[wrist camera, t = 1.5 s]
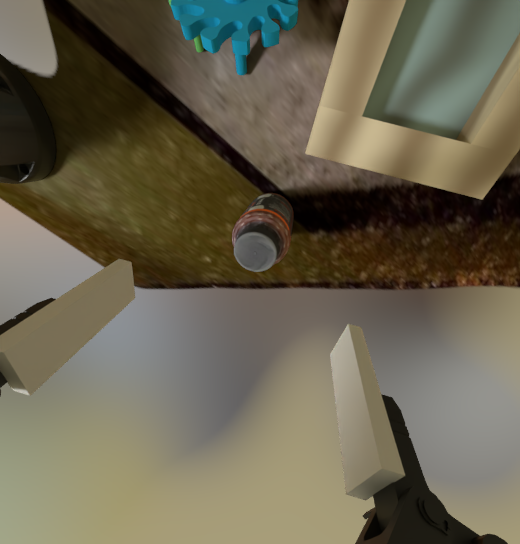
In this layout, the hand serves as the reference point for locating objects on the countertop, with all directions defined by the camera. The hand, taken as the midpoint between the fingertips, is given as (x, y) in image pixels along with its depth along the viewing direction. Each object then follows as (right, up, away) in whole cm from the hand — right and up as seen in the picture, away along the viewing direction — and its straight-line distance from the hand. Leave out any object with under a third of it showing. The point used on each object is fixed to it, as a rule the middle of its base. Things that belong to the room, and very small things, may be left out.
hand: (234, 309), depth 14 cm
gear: (0, +26, +8) cm, 27 cm away
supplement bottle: (+3, +10, +16) cm, 19 cm away
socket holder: (+17, +21, +7) cm, 28 cm away
